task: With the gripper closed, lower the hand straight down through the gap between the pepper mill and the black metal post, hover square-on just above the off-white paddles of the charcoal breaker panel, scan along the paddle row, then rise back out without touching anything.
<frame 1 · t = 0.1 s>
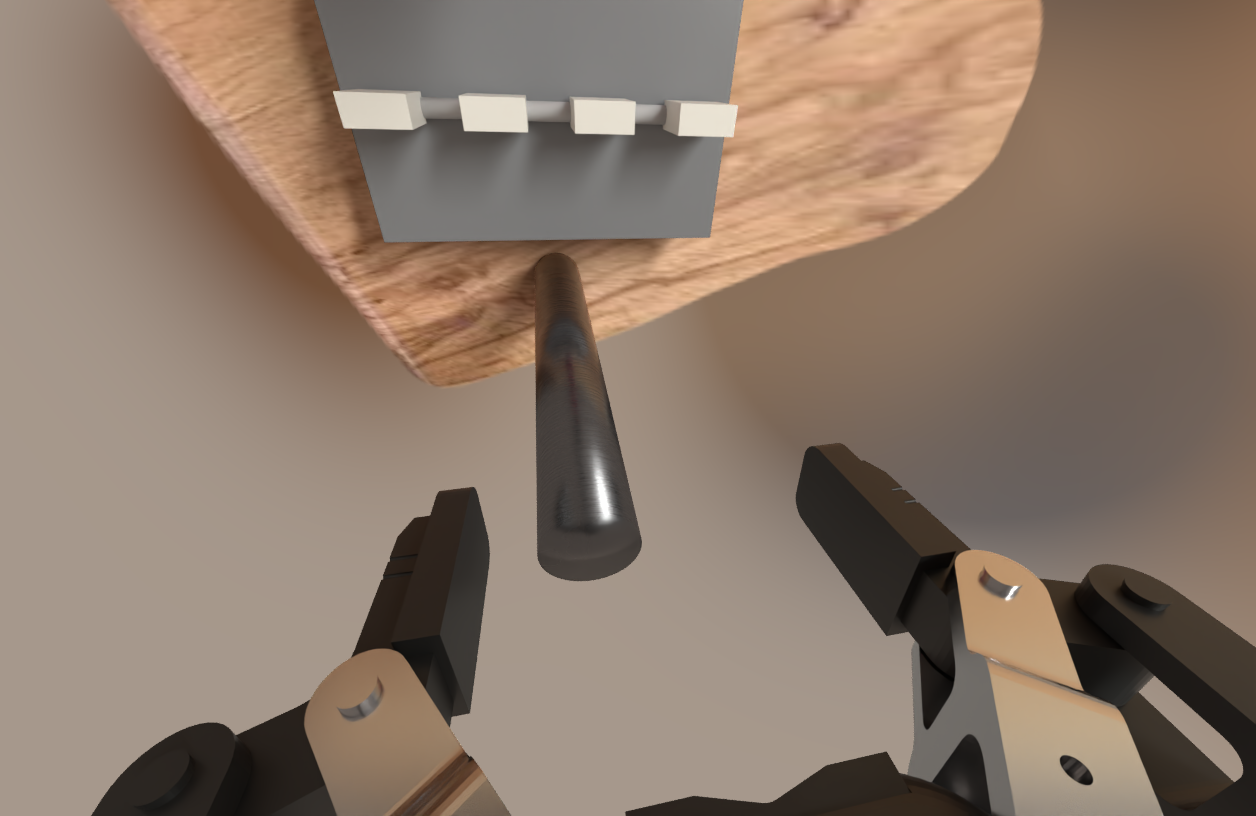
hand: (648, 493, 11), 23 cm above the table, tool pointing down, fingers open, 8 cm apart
breaker panel: (546, 105, 24), on the table
breaker paddles: (549, 113, 20), point 6 cm above the table, hinge at 0.0°
black cord post: (557, 275, 30), on the table
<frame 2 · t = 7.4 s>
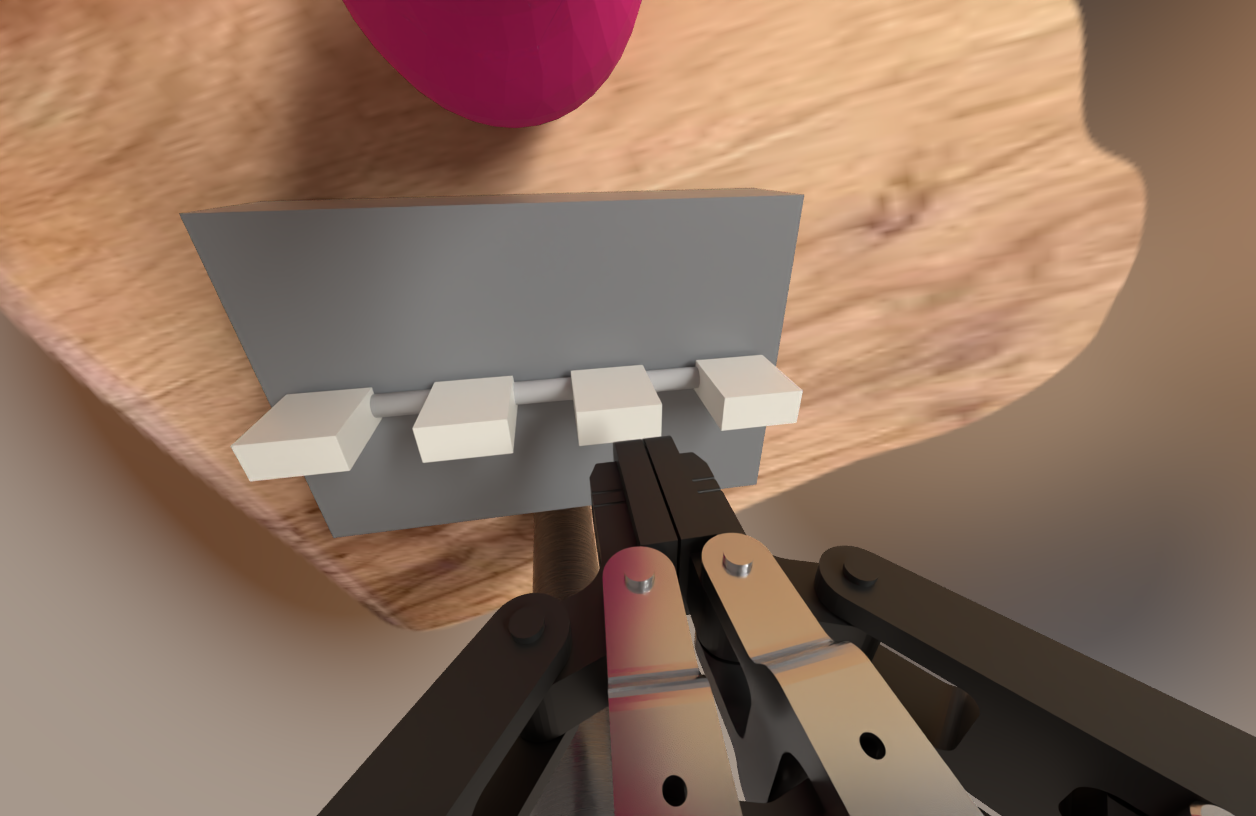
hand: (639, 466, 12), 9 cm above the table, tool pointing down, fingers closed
breaker panel: (543, 344, 19), on the table
breaker paddles: (544, 407, 15), point 6 cm above the table, hinge at 0.0°
pepper mill: (505, 1, 14), on the table
black cord post: (562, 507, 24), on the table
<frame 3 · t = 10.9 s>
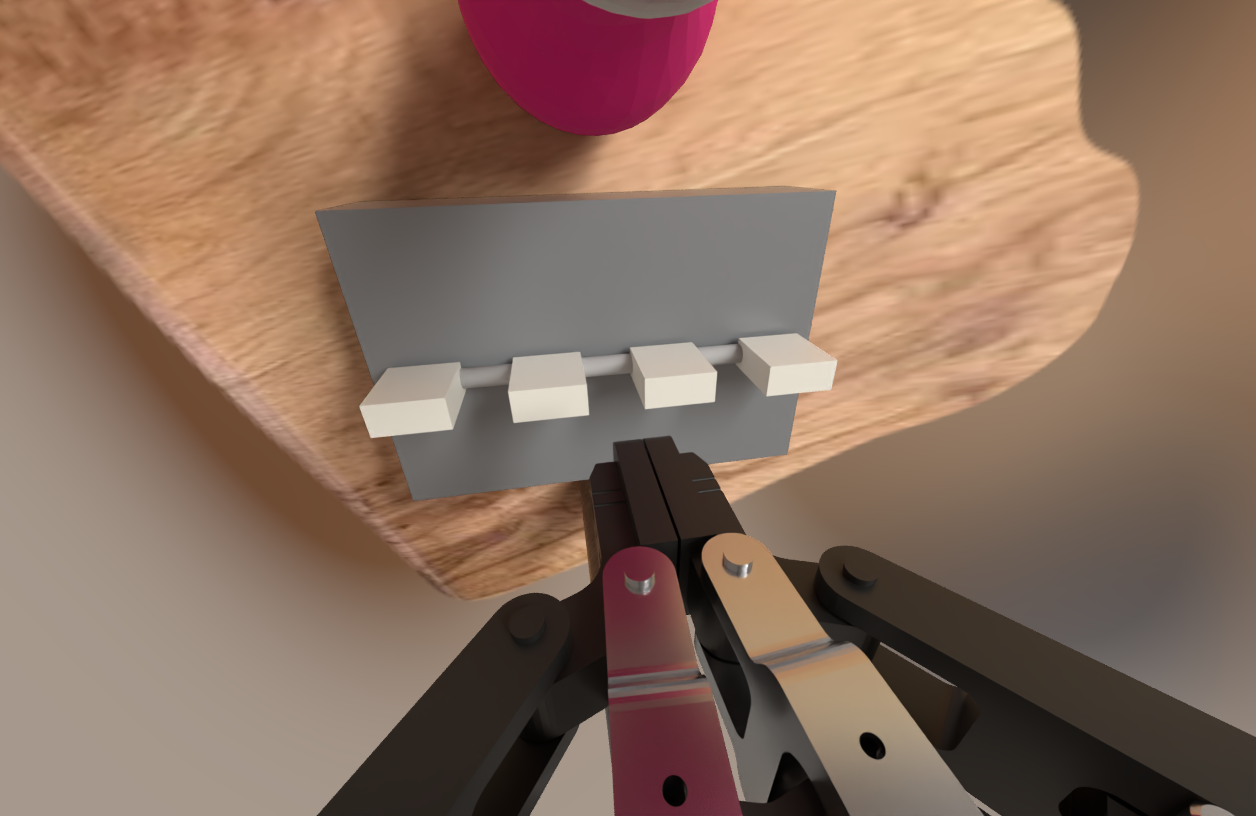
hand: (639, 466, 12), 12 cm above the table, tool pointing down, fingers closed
breaker panel: (594, 329, 22), on the table
breaker paddles: (610, 377, 17), point 6 cm above the table, hinge at 0.0°
pepper mill: (576, 26, 16), on the table
black cord post: (604, 482, 26), on the table
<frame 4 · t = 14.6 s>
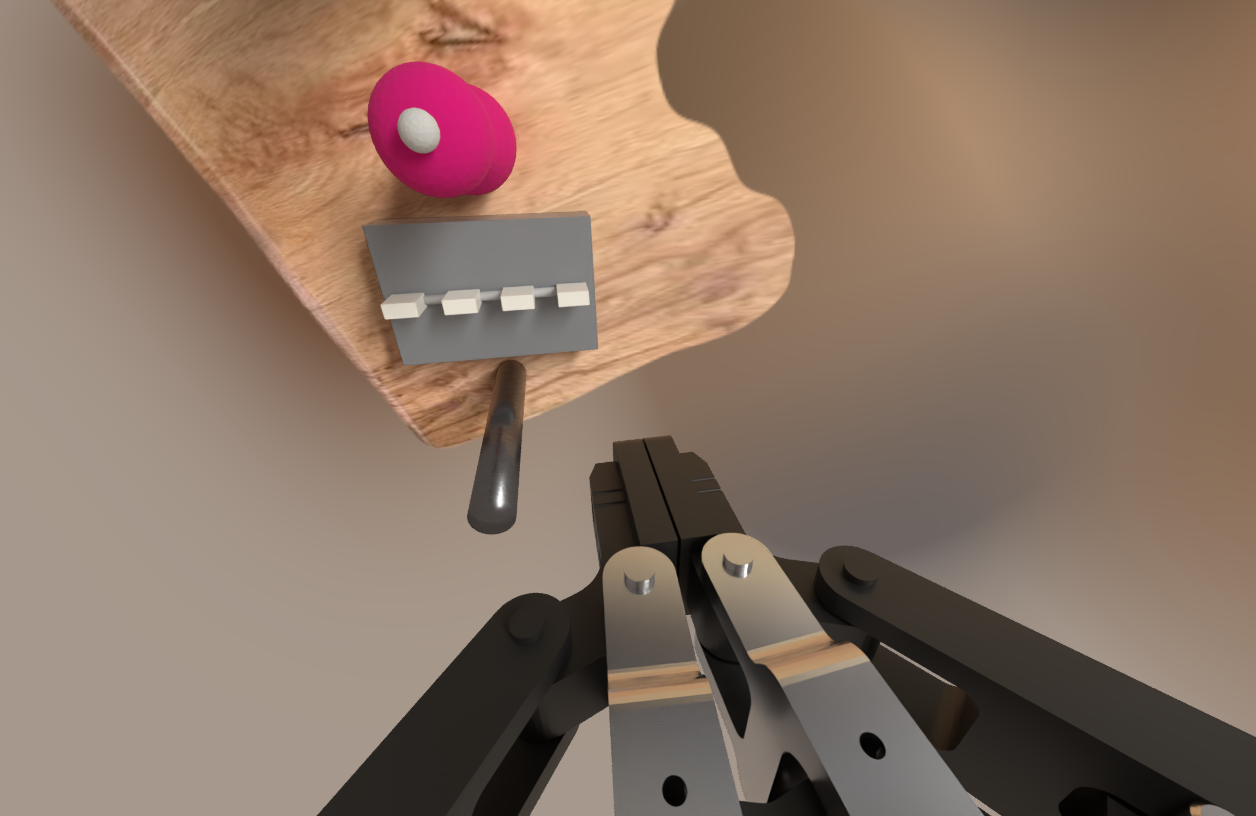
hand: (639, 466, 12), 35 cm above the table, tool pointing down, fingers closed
breaker panel: (496, 283, 42), on the table
breaker paddles: (491, 299, 37), point 6 cm above the table, hinge at 0.0°
pepper mill: (474, 143, 37), on the table
black cord post: (511, 373, 47), on the table
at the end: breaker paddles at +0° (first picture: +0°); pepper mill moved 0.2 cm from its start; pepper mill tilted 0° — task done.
